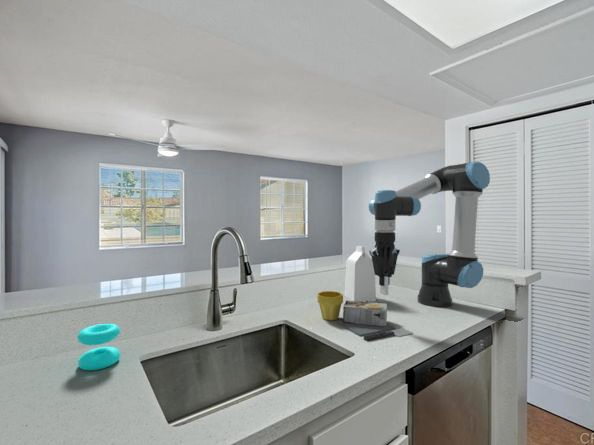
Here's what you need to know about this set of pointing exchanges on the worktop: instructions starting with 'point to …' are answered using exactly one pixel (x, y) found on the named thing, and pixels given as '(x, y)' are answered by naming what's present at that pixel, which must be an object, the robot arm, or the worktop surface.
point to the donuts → (100, 355)
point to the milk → (360, 277)
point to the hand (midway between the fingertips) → (384, 293)
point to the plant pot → (330, 304)
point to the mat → (365, 328)
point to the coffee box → (365, 313)
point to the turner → (388, 334)
